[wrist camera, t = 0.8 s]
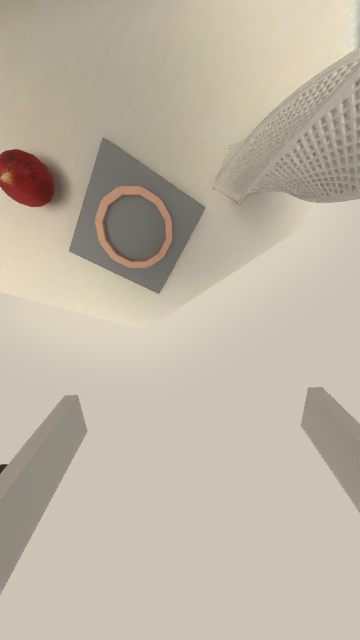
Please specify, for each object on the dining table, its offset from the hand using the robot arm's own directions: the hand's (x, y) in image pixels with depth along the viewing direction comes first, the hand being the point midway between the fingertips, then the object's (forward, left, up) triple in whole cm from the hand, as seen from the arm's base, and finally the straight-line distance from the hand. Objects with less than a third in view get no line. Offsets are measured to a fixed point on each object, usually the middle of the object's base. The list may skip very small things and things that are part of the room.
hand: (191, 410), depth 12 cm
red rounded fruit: (-22, +3, -29) cm, 36 cm away
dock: (-8, +4, -28) cm, 30 cm away
